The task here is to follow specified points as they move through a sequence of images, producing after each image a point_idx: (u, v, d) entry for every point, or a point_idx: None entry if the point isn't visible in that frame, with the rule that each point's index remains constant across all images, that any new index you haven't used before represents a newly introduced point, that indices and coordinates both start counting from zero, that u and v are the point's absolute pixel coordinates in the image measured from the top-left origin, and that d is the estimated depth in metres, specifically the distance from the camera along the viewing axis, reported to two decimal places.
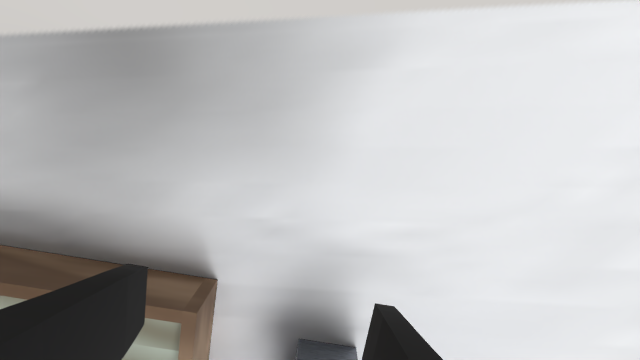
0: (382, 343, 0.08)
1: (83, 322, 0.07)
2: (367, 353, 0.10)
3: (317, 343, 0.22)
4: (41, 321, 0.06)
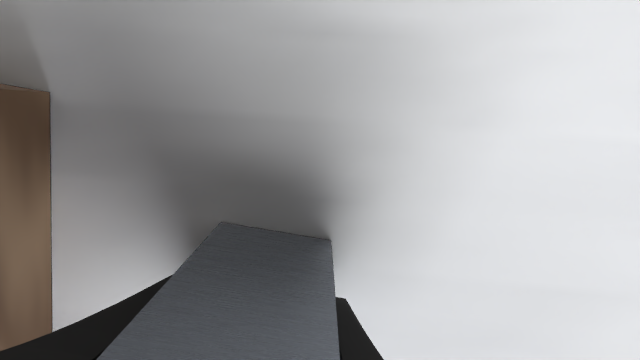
0: None
1: None
2: None
3: (256, 230, 0.11)
4: None
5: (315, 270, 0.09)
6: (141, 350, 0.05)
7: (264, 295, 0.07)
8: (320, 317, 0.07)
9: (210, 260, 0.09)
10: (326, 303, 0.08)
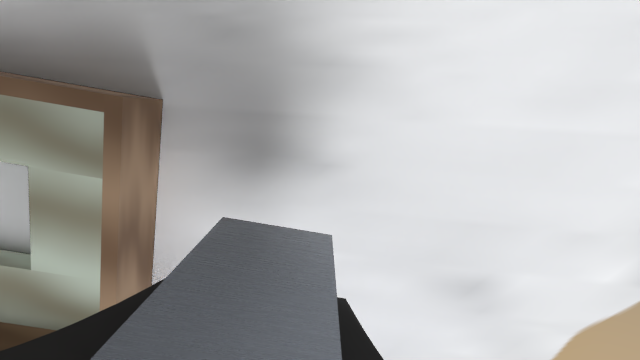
0: None
1: None
2: None
3: (257, 224, 0.11)
4: None
5: (316, 263, 0.09)
6: (147, 337, 0.05)
7: (266, 286, 0.08)
8: (320, 307, 0.07)
9: (213, 253, 0.09)
10: (327, 294, 0.08)
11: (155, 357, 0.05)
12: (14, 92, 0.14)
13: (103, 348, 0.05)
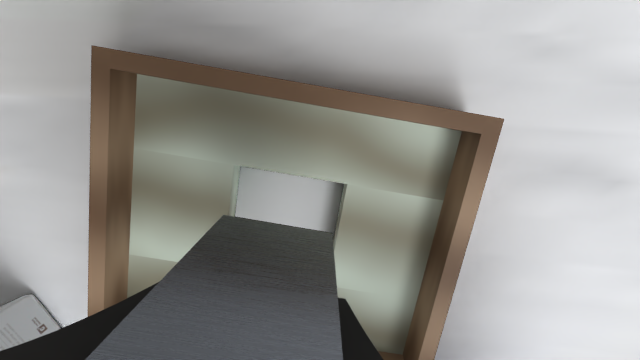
0: None
1: None
2: None
3: (257, 222, 0.11)
4: None
5: (317, 260, 0.09)
6: (148, 332, 0.05)
7: (267, 283, 0.08)
8: (321, 304, 0.07)
9: (214, 250, 0.09)
10: (328, 291, 0.08)
11: (155, 352, 0.05)
12: (398, 114, 0.14)
13: (103, 343, 0.05)
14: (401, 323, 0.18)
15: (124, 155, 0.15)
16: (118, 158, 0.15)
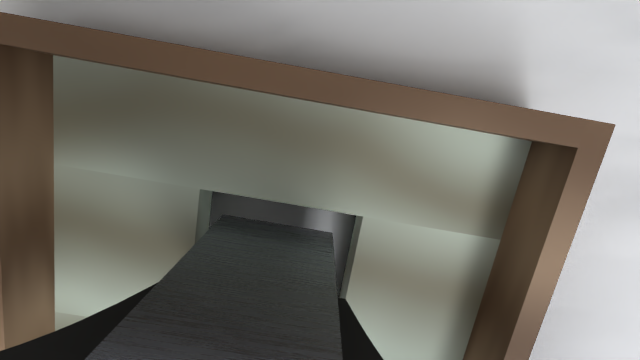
0: None
1: None
2: None
3: (257, 222, 0.11)
4: None
5: (317, 261, 0.09)
6: (147, 332, 0.05)
7: (267, 283, 0.08)
8: (321, 304, 0.07)
9: (213, 250, 0.09)
10: (327, 291, 0.08)
11: (154, 352, 0.05)
12: (449, 117, 0.09)
13: (103, 343, 0.05)
14: None
15: (34, 176, 0.10)
16: (22, 181, 0.10)
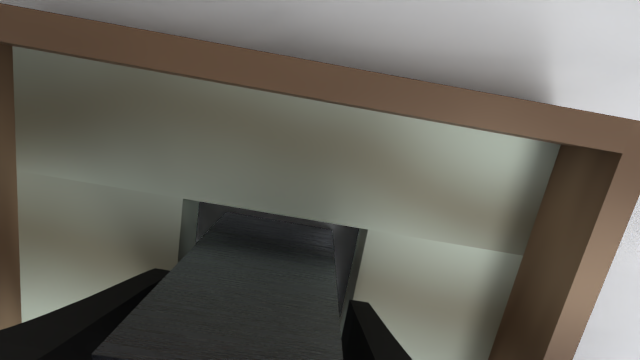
0: (353, 338, 0.08)
1: None
2: None
3: (259, 219, 0.12)
4: (84, 328, 0.06)
5: (317, 255, 0.09)
6: (158, 319, 0.06)
7: (269, 276, 0.08)
8: (321, 295, 0.07)
9: (218, 245, 0.09)
10: (327, 283, 0.08)
11: (165, 336, 0.05)
12: (471, 117, 0.07)
13: (117, 329, 0.05)
14: None
15: None
16: None
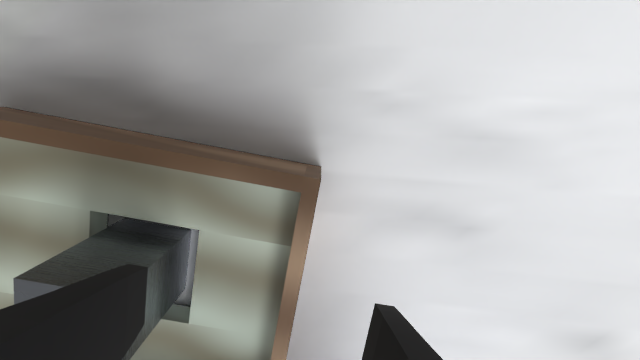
0: (382, 343, 0.08)
1: (83, 322, 0.07)
2: (367, 353, 0.10)
3: (144, 222, 0.19)
4: (41, 321, 0.06)
5: (163, 244, 0.17)
6: (49, 268, 0.13)
7: (122, 253, 0.15)
8: (144, 263, 0.15)
9: (104, 237, 0.16)
10: (154, 258, 0.15)
11: (49, 274, 0.13)
12: (220, 173, 0.15)
13: (28, 271, 0.13)
14: (262, 359, 0.19)
15: None
16: None
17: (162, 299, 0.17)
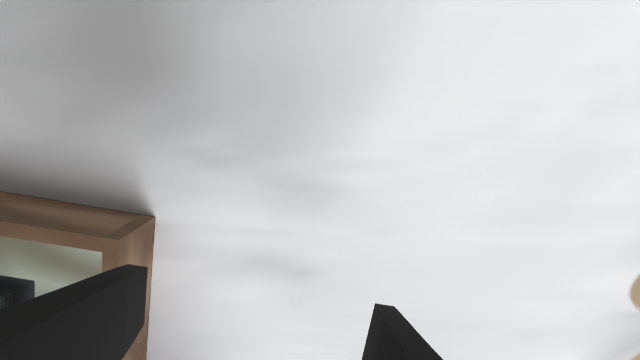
0: (382, 343, 0.08)
1: (83, 322, 0.07)
2: (367, 353, 0.10)
3: None
4: (41, 321, 0.06)
5: None
6: None
7: None
8: None
9: None
10: None
11: None
12: (24, 236, 0.16)
13: None
14: None
15: None
16: None
17: None
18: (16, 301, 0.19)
